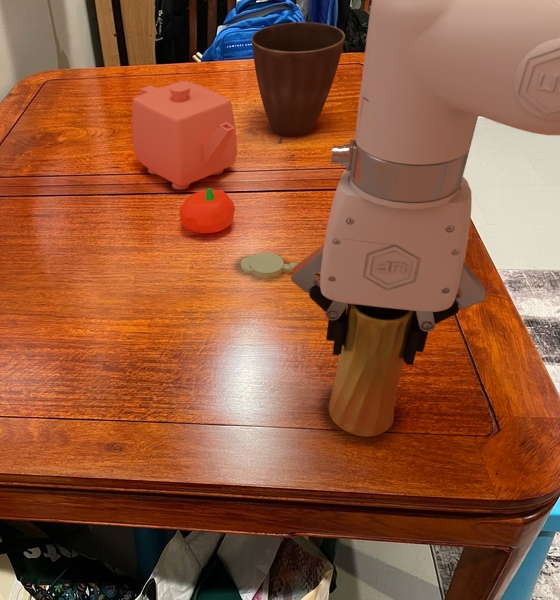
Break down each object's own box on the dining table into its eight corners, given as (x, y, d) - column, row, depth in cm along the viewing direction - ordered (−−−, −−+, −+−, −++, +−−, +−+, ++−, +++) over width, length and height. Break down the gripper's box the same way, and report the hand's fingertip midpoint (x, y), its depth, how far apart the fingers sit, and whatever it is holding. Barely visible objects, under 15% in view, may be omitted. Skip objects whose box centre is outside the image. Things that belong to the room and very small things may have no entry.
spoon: (398, 270, 78) (399, 262, 77) (398, 292, 74) (399, 284, 74) (243, 255, 83) (243, 248, 82) (237, 275, 79) (237, 268, 79)
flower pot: (353, 128, 109) (365, 33, 99) (292, 155, 103) (298, 58, 93) (292, 105, 119) (297, 16, 109) (233, 129, 113) (232, 38, 103)
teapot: (261, 182, 97) (263, 93, 88) (197, 211, 92) (192, 120, 83) (178, 138, 112) (173, 58, 103) (119, 161, 107) (108, 80, 98)
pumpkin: (172, 222, 90) (169, 183, 86) (223, 209, 92) (222, 170, 88) (190, 248, 85) (188, 207, 81) (244, 233, 87) (244, 193, 83)
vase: (327, 387, 64) (342, 277, 55) (390, 392, 63) (416, 280, 53) (329, 434, 59) (345, 322, 50) (396, 441, 58) (425, 327, 49)
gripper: (277, 183, 43) (269, 365, 55) (552, 200, 39) (481, 395, 50) (290, 136, 49) (280, 310, 60) (532, 146, 44) (472, 333, 56)
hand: (372, 347), depth 55 cm, fingers closed on vase, 5 cm apart
